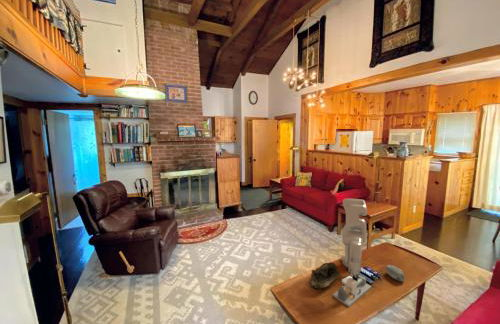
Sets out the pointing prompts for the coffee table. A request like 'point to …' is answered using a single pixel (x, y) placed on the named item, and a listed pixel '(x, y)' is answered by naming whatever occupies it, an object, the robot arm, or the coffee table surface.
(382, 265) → the coffee table surface
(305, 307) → the coffee table surface
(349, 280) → the sleeve
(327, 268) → the hollow geode rock
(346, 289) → the pale green crossbeam
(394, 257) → the coffee table surface
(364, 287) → the grey support base
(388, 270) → the streaked grey egg
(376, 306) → the coffee table surface
